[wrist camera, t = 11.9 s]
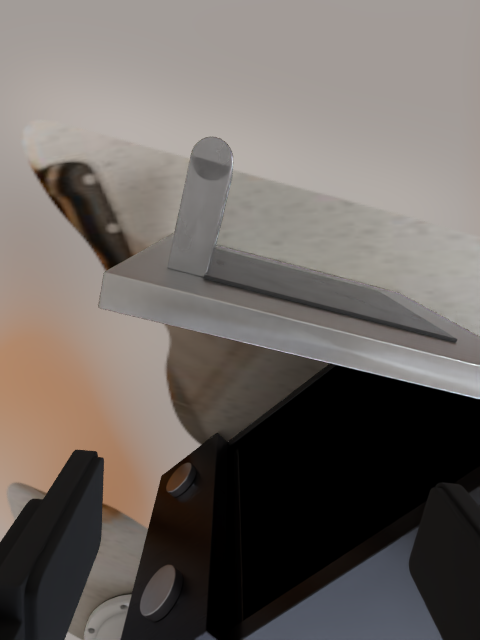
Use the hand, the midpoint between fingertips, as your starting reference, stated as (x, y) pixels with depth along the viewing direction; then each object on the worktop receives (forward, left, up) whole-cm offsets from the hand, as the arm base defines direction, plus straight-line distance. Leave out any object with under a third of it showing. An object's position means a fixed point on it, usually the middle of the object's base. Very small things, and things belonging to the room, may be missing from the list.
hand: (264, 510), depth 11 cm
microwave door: (+7, +1, -27) cm, 28 cm away
